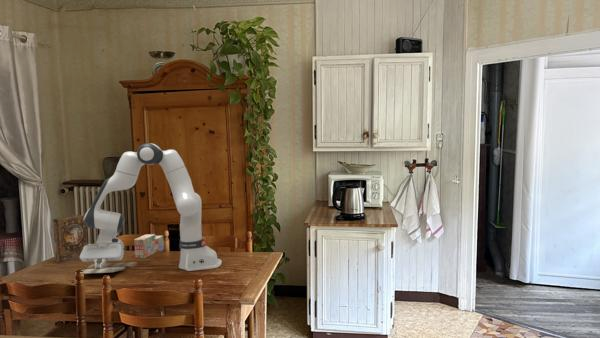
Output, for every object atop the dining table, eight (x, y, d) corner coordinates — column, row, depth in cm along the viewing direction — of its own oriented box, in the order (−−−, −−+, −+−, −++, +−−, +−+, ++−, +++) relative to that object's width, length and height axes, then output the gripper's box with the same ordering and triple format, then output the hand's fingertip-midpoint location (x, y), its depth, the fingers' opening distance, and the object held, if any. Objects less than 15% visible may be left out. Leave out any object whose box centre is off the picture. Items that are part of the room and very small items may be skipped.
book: (58, 263, 225) (55, 220, 223) (54, 262, 228) (51, 219, 226) (88, 256, 238) (85, 215, 236) (83, 255, 241) (81, 214, 239)
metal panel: (125, 269, 210) (125, 266, 210) (112, 272, 193) (113, 268, 194) (94, 270, 209) (94, 267, 209) (78, 273, 192) (79, 270, 193)
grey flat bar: (138, 264, 217) (138, 261, 217) (134, 268, 211) (133, 265, 211) (92, 266, 216) (92, 263, 215) (87, 270, 209) (86, 267, 209)
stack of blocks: (155, 250, 249) (154, 230, 248) (164, 250, 248) (163, 230, 247) (134, 260, 228) (133, 239, 227) (144, 260, 227) (143, 239, 226)
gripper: (82, 240, 202) (73, 265, 193) (123, 239, 203) (116, 264, 194) (87, 247, 207) (78, 271, 198) (127, 245, 208) (121, 270, 199)
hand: (98, 268), depth 196 cm, fingers closed
